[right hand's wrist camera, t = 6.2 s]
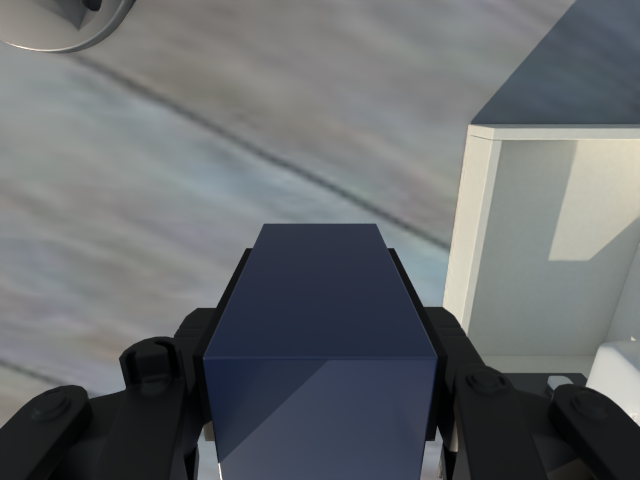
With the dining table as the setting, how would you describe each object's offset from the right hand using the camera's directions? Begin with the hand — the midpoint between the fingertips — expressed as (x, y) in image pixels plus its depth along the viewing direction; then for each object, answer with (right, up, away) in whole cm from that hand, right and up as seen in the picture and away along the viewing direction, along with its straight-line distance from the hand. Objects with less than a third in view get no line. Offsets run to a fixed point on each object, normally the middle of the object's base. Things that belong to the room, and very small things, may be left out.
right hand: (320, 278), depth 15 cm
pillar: (0, 0, 0) cm, 0 cm away
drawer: (+21, 0, +19) cm, 28 cm away
